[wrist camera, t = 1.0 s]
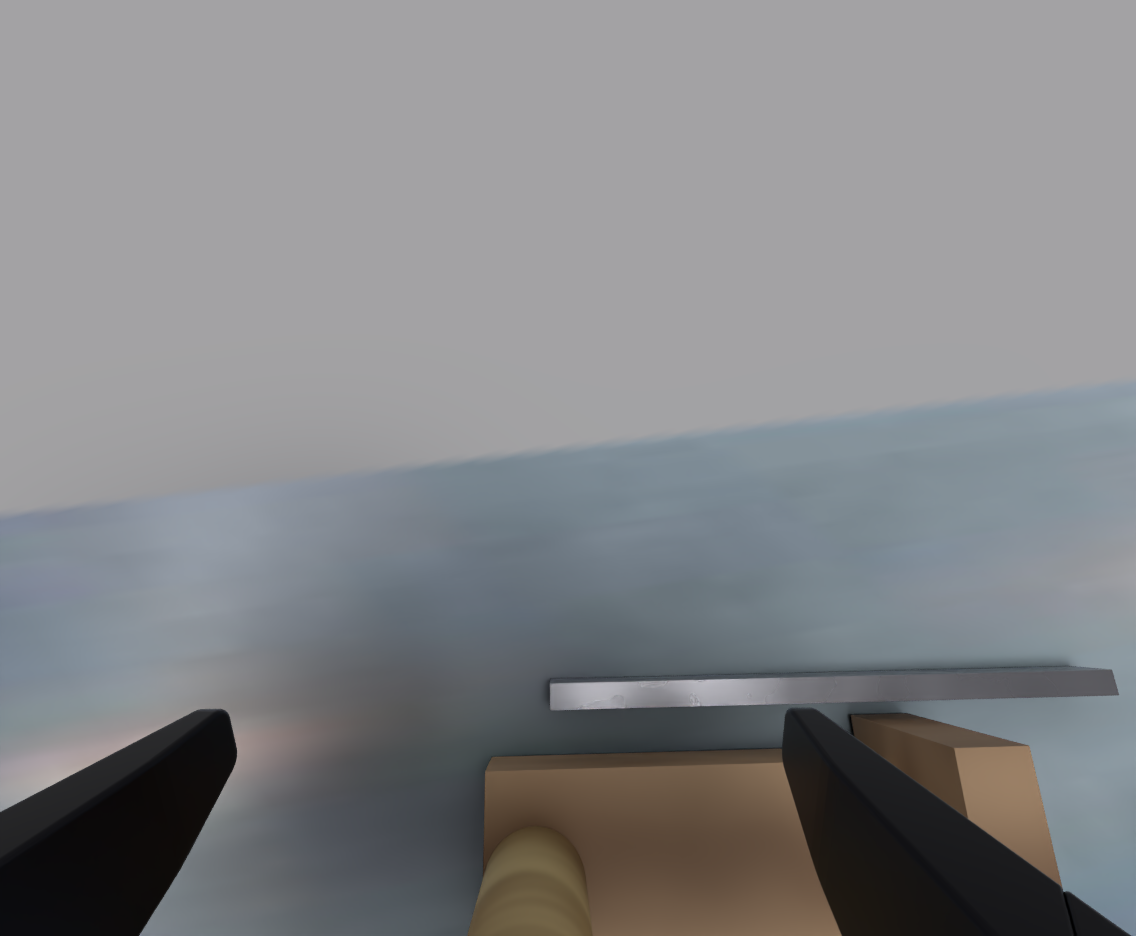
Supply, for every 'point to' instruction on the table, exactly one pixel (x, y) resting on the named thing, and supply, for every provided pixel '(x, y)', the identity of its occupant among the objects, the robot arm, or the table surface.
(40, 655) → the table surface
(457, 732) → the table surface
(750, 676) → the clamp rails
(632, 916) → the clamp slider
